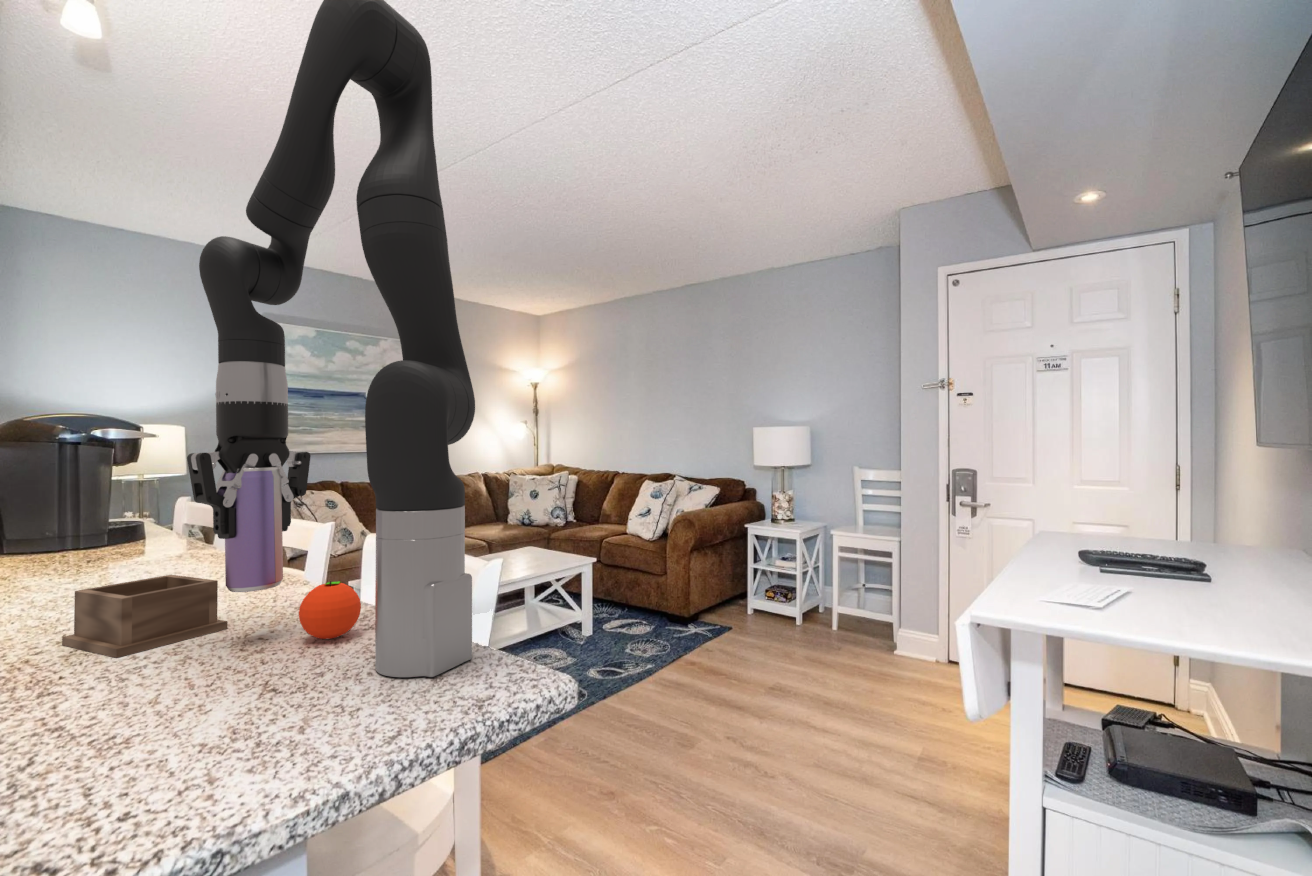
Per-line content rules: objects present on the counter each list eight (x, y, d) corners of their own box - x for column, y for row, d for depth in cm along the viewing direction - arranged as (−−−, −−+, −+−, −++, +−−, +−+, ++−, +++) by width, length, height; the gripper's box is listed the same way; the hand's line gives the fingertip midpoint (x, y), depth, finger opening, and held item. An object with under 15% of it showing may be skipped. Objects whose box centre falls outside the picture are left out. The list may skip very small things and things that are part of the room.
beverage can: (254, 593, 70) (252, 468, 71) (213, 592, 72) (211, 469, 72) (294, 582, 76) (292, 466, 77) (255, 581, 78) (253, 467, 78)
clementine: (311, 629, 78) (312, 575, 78) (368, 625, 80) (368, 572, 80) (289, 649, 71) (290, 589, 71) (353, 644, 72) (353, 585, 72)
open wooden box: (227, 628, 79) (227, 579, 79) (116, 657, 68) (117, 601, 68) (173, 619, 84) (174, 573, 84) (62, 645, 73) (62, 591, 73)
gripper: (208, 395, 66) (210, 544, 66) (325, 403, 80) (327, 528, 79) (169, 399, 69) (170, 542, 69) (288, 406, 83) (289, 526, 82)
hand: (254, 534), depth 74 cm, fingers closed on beverage can, 6 cm apart
